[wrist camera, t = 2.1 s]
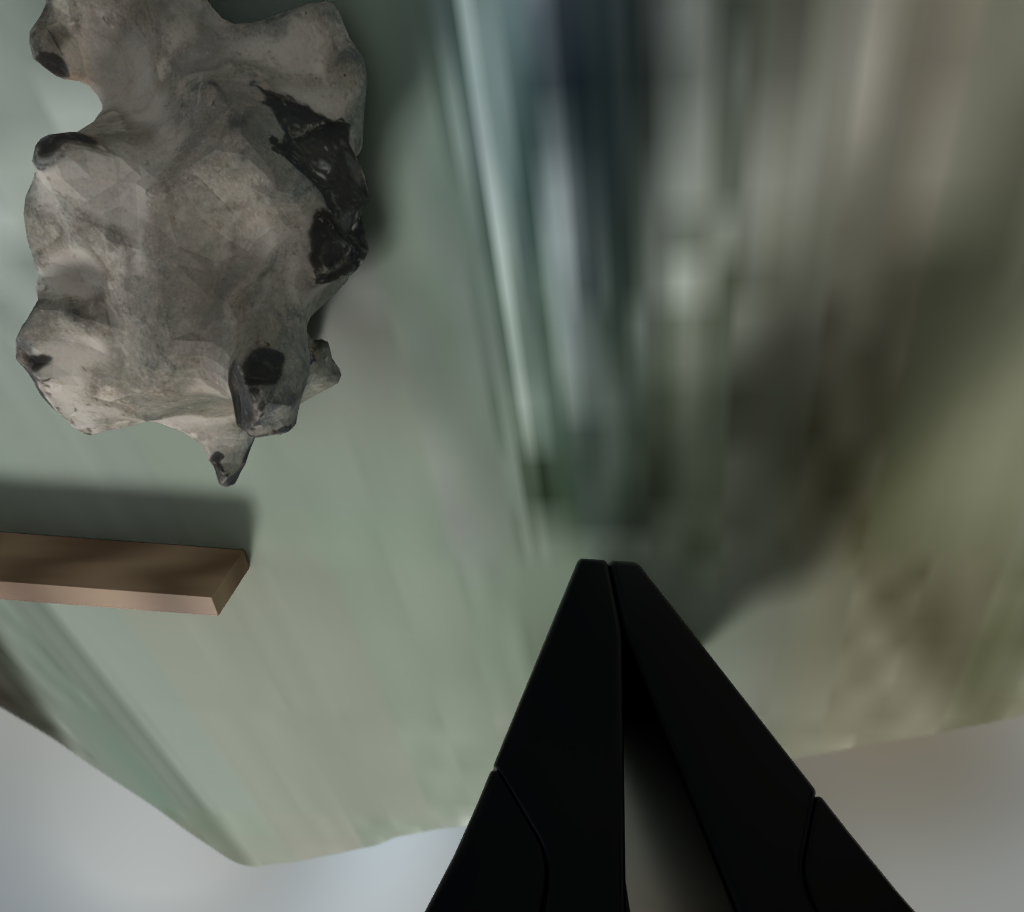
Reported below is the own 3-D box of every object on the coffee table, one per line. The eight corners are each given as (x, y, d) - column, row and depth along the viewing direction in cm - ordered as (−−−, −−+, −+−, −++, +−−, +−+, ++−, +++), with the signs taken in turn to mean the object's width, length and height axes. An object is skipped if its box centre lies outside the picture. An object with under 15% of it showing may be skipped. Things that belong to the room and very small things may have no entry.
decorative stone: (-23, -118, 13) (-634, -372, 5) (364, -52, 15) (341, -166, 7) (158, 429, 22) (36, 632, 15) (383, 426, 24) (382, 604, 16)
